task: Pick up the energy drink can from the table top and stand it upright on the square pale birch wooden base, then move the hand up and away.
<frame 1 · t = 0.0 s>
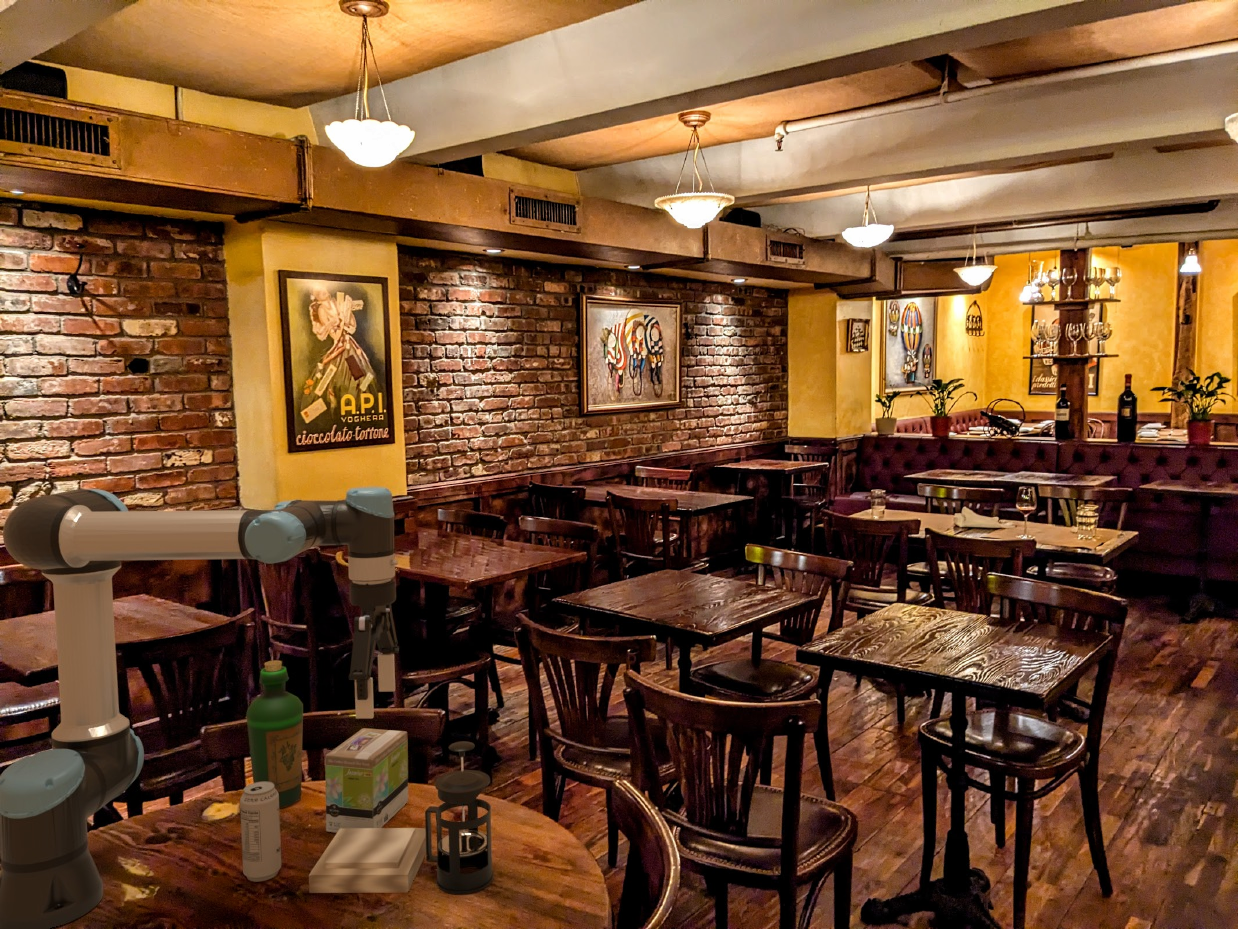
hand: (376, 703, 157), 28 cm above the table, tool pointing down, fingers open, 13 cm apart
tea box: (369, 818, 176), on the table
bottle: (278, 802, 184), on the table
french press: (462, 880, 153), on the table
birch base: (372, 867, 157), on the table
energy drink can: (262, 875, 156), on the table
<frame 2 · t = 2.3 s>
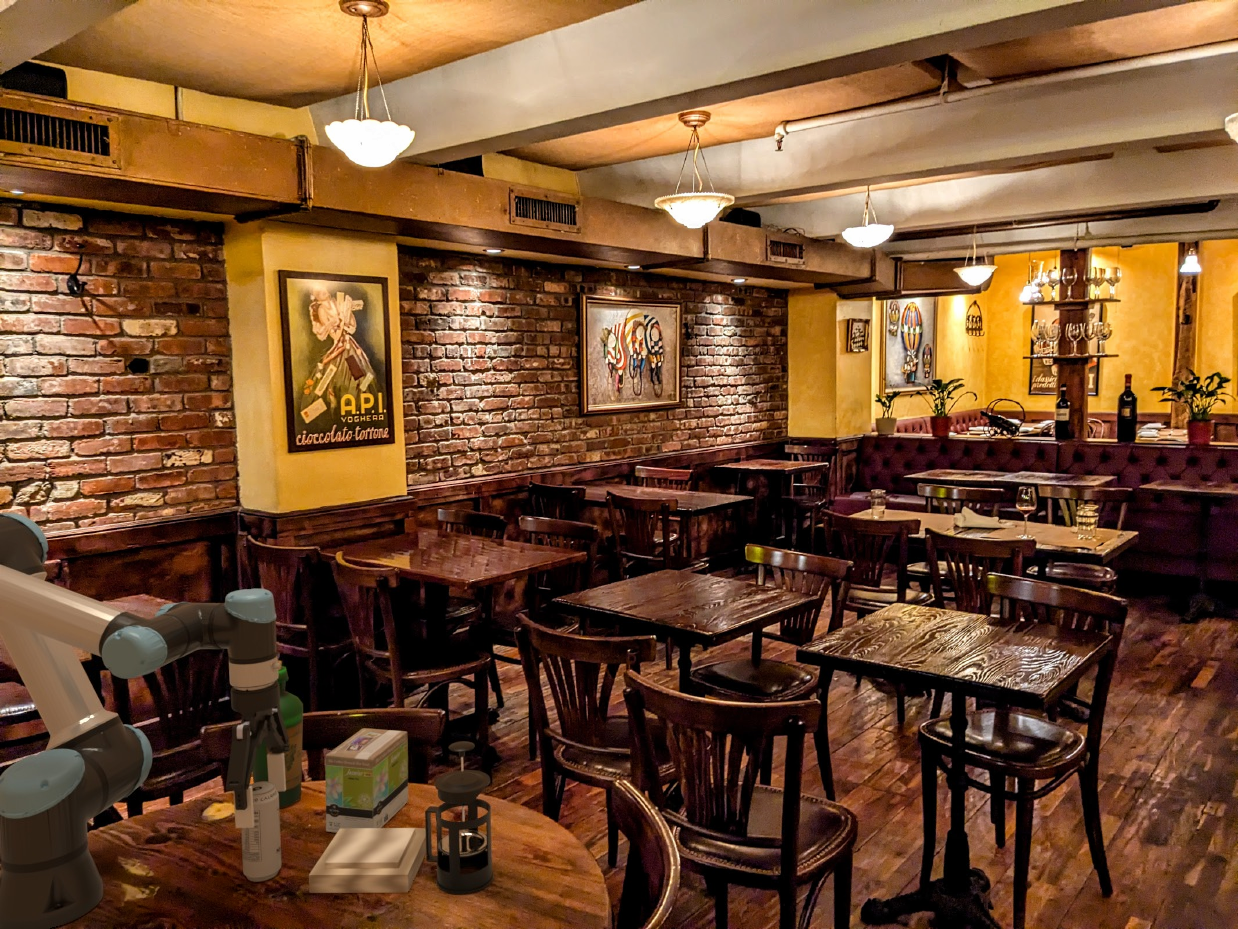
hand: (262, 808, 155), 11 cm above the table, tool pointing down, fingers open, 13 cm apart
nothing on the table moved.
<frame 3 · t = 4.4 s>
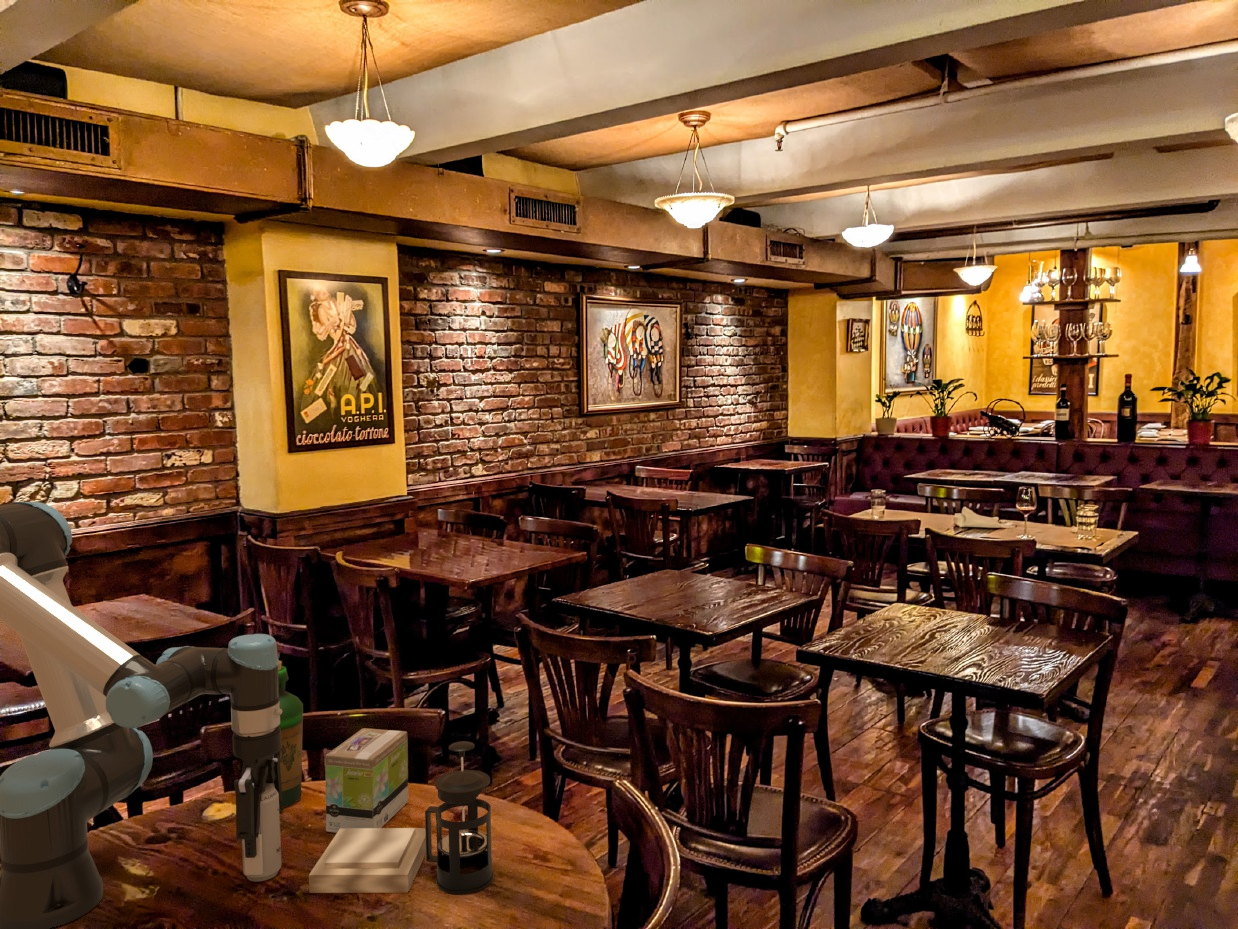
hand: (262, 863, 155), 2 cm above the table, tool pointing down, fingers closed on energy drink can, 6 cm apart
energy drink can: (262, 875, 156), on the table, touching gripper
everything else where it was.
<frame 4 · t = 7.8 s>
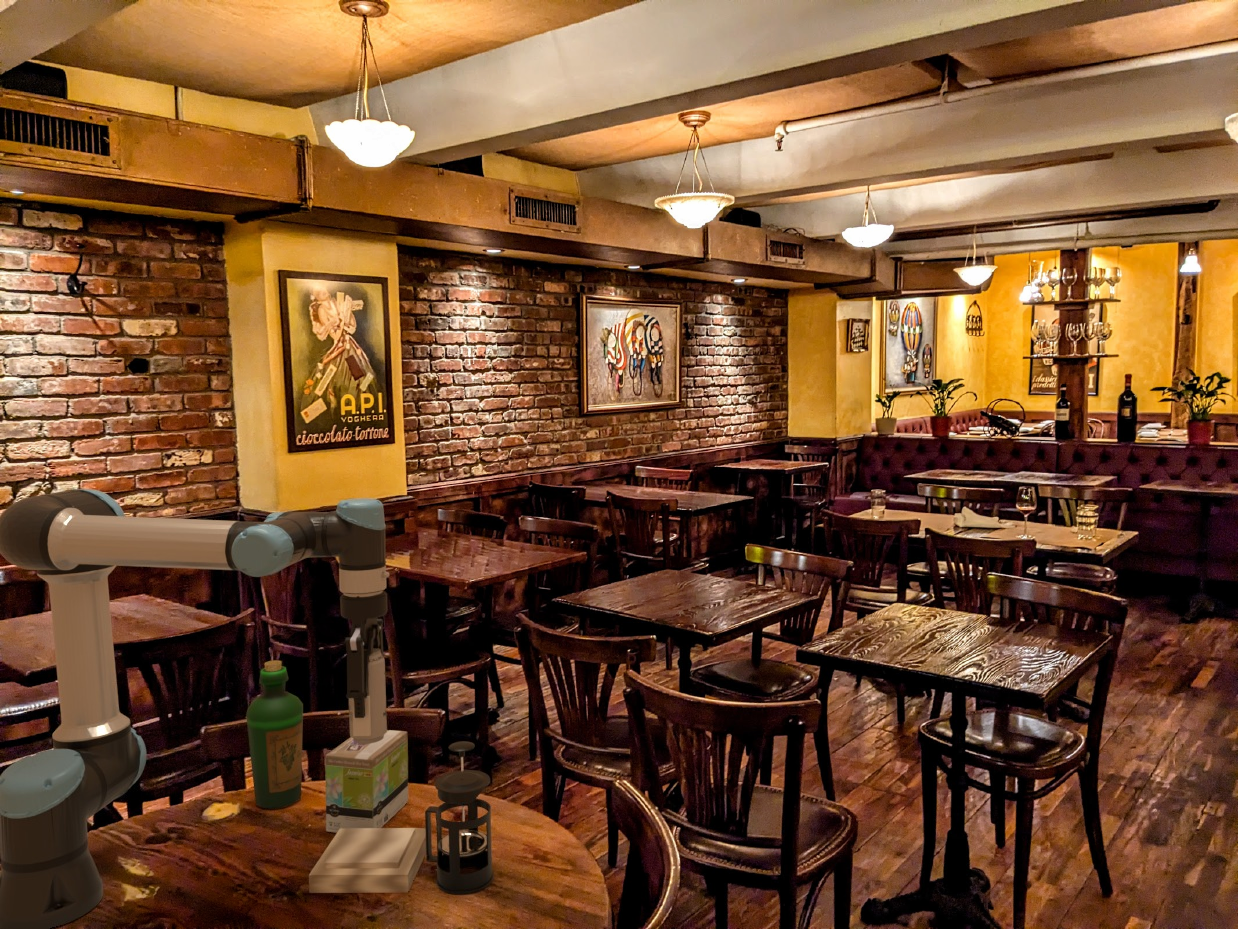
hand: (368, 727, 155), 24 cm above the table, tool pointing down, fingers closed on energy drink can, 6 cm apart
energy drink can: (368, 739, 156), point 22 cm above the table, touching gripper
everything else where it was.
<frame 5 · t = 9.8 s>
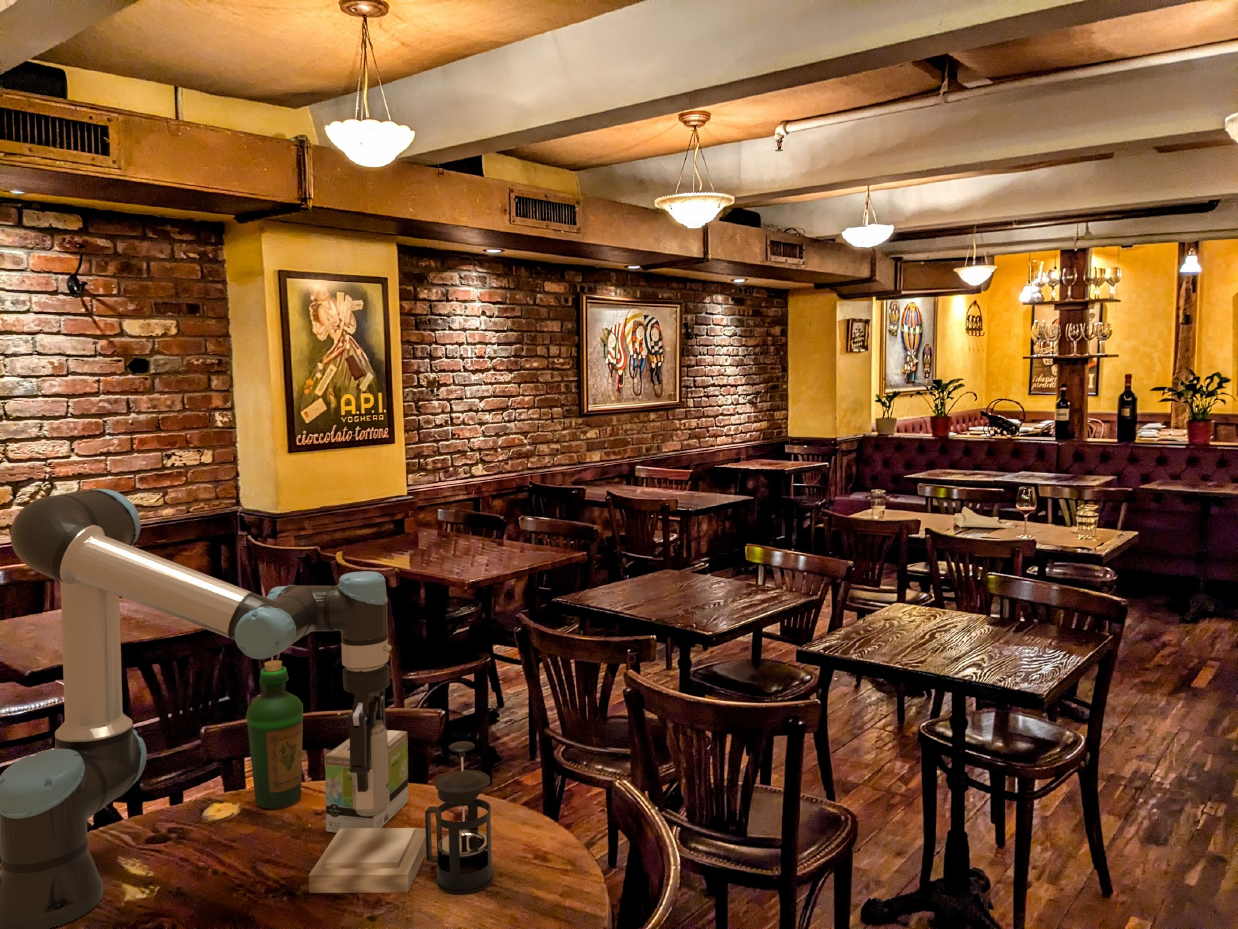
hand: (370, 799, 156), 12 cm above the table, tool pointing down, fingers closed on energy drink can, 6 cm apart
energy drink can: (371, 810, 157), point 10 cm above the table, touching gripper
everything else where it was.
when the fingers open (7 cm above the table, at t = 11.6 s): energy drink can drops 1 cm, resting on birch base.
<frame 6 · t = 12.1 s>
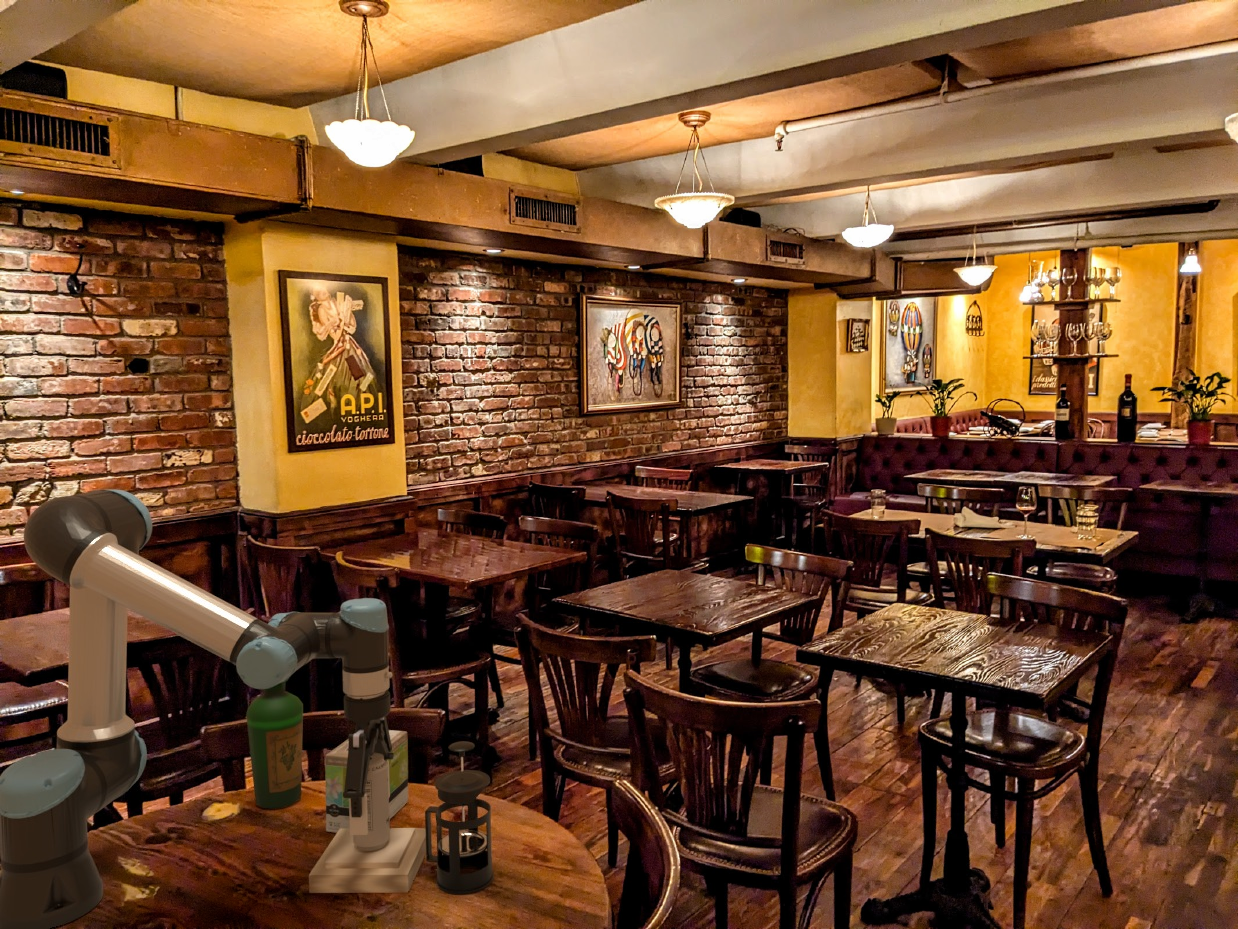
hand: (370, 815, 157), 9 cm above the table, tool pointing down, fingers open, 13 cm apart
energy drink can: (371, 845, 157), point 4 cm above the table, touching birch base
everything else where it was.
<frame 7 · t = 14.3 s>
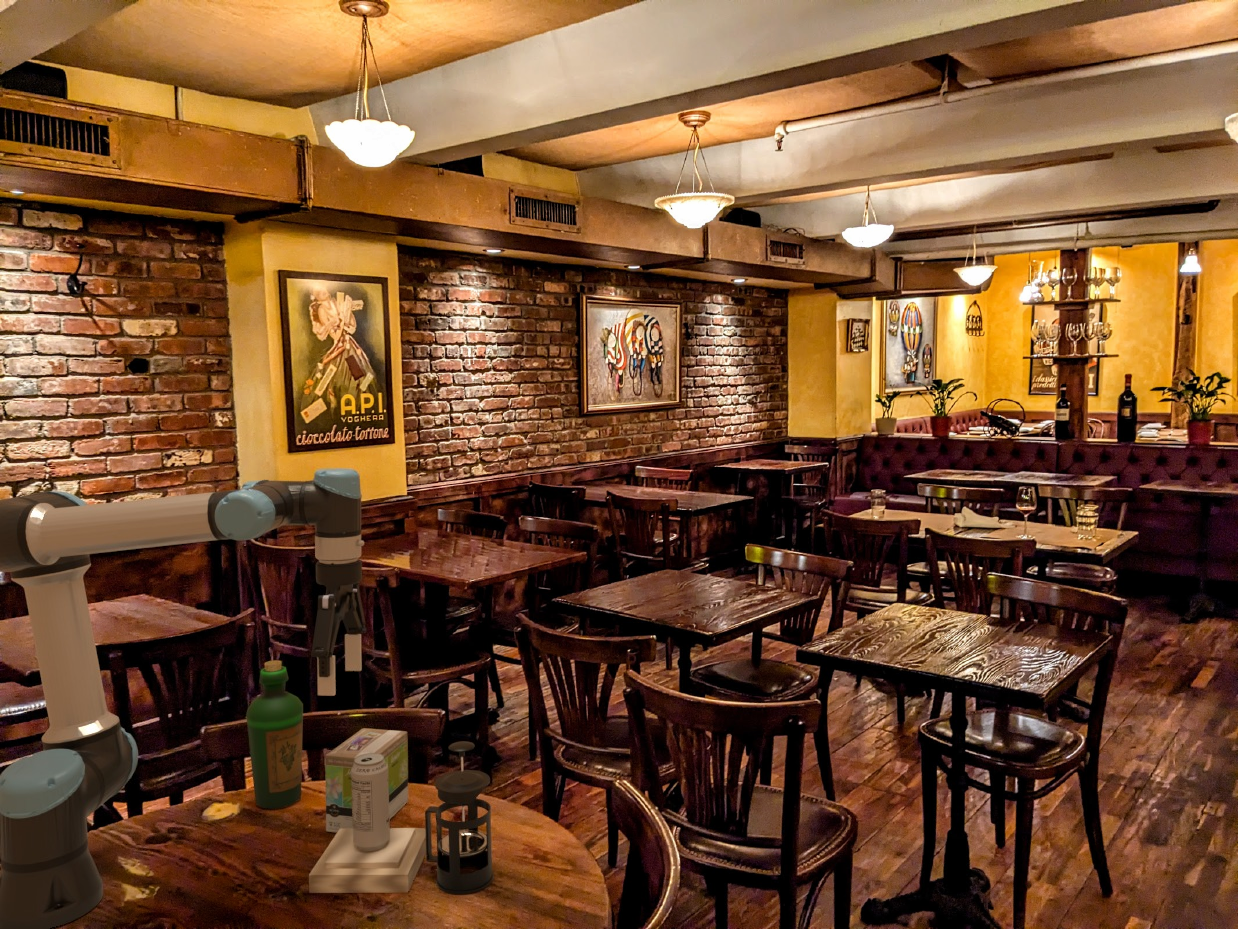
hand: (340, 682, 159), 31 cm above the table, tool pointing down, fingers open, 13 cm apart
nothing on the table moved.
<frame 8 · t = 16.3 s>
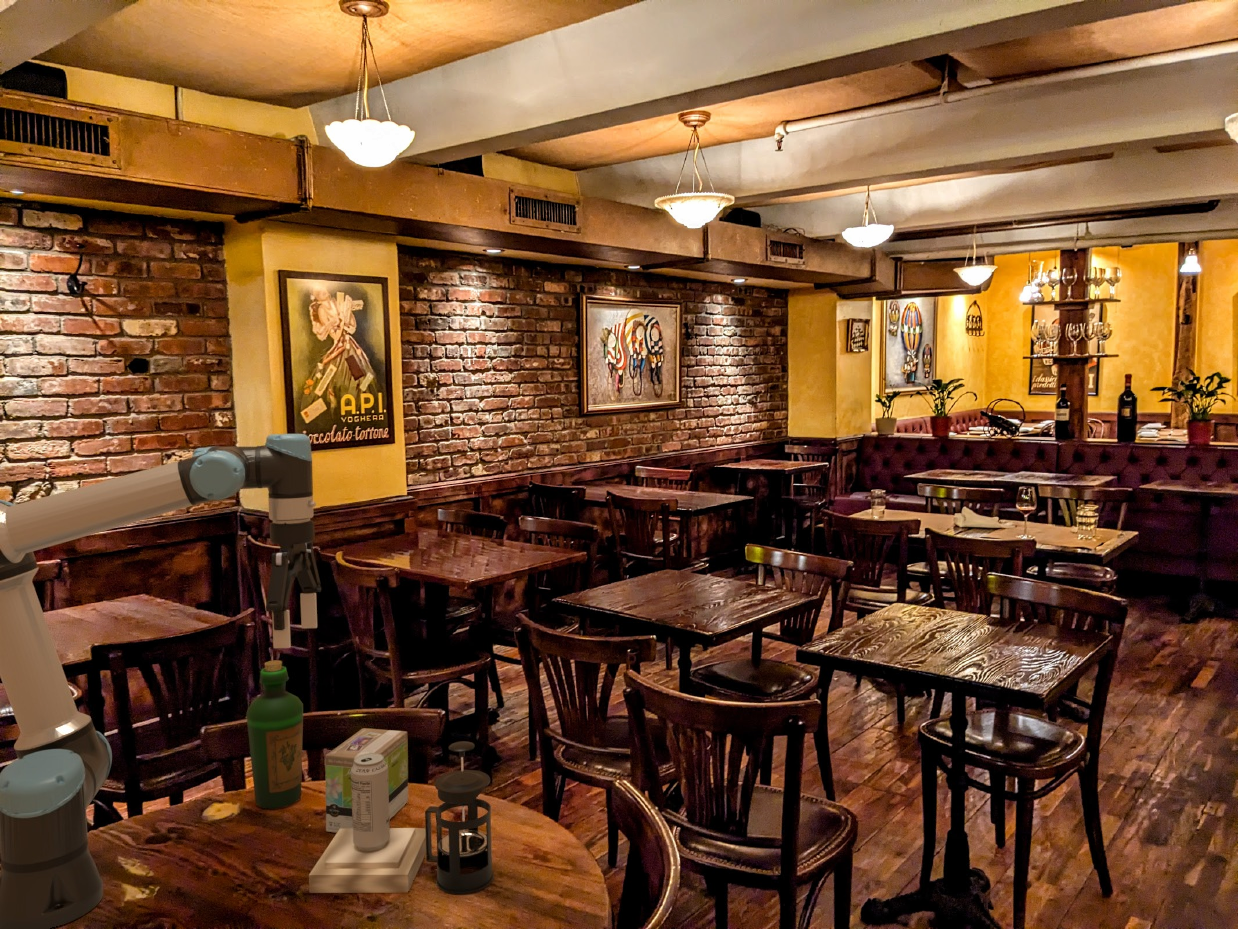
hand: (296, 637, 167), 37 cm above the table, tool pointing down, fingers open, 13 cm apart
nothing on the table moved.
at the end: energy drink can inside the target area on the birch base (0.1 cm from its centre), point 3.8 cm above the birch base's base; energy drink can tilted 0°; the gripper is holding nothing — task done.
